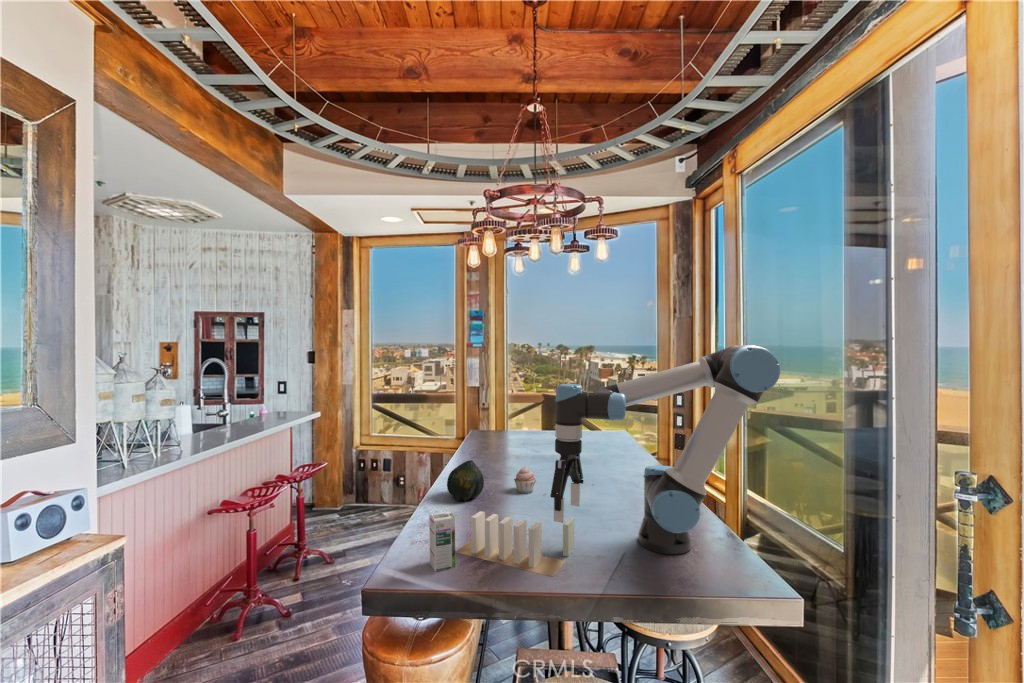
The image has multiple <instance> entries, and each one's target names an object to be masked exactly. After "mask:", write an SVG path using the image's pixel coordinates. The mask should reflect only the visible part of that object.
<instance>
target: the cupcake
mask: <svg viewBox="0 0 1024 683" xmlns="http://www.w3.org/2000/svg"><path fill="white" fill-rule="evenodd" d="M513 480H514V483H515V486H516V490H517V492H518V493H520V494H531V493H533V491H534V487H535V485H536V482H537V478H536V476H535V474H534V472H532V471H531V470H530V469H528V467H527V466H523V467H522V468H521V469H519V471H518V472H517V473H516V475H515V478H513Z"/></svg>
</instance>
